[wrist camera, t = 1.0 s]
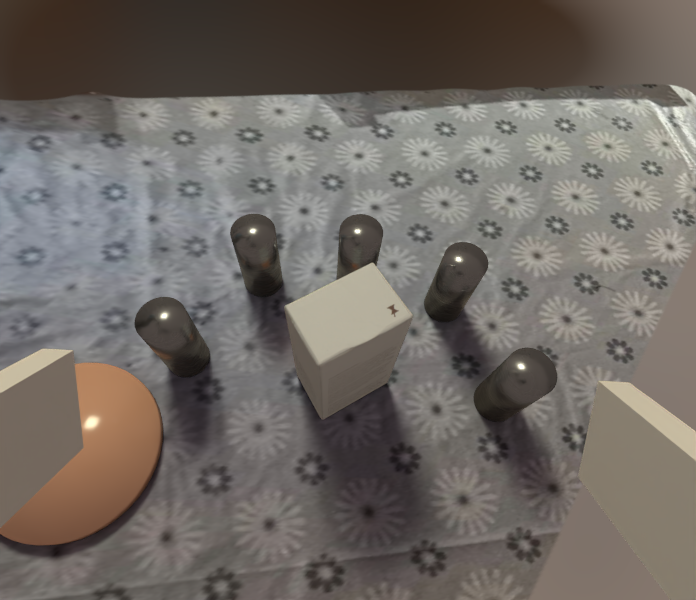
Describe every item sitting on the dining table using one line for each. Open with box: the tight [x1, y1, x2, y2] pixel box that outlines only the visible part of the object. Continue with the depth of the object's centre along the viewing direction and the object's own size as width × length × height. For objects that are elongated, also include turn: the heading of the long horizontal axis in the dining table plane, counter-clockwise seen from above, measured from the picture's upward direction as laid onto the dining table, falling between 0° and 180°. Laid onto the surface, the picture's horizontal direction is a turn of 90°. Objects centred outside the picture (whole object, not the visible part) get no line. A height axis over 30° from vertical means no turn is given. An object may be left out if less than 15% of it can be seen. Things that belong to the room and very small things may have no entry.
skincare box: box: [284, 263, 413, 420], centre depth 30 cm, size 6×4×12 cm
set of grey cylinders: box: [135, 214, 557, 422], centre depth 33 cm, size 21×24×7 cm
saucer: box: [0, 363, 163, 545], centre depth 31 cm, size 12×12×1 cm
